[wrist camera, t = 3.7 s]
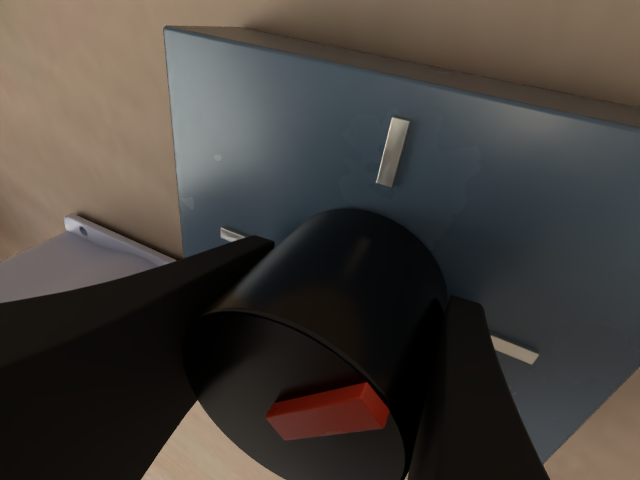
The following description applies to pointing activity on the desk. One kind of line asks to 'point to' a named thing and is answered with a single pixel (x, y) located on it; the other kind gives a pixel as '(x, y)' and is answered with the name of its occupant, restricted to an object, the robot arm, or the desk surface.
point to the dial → (324, 349)
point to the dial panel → (430, 192)
